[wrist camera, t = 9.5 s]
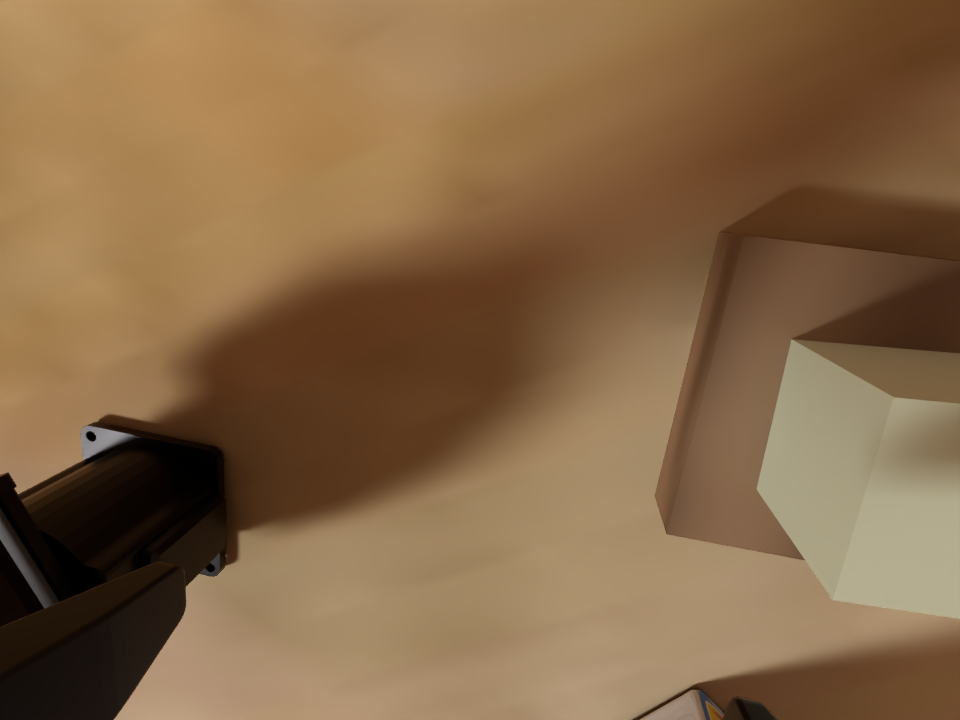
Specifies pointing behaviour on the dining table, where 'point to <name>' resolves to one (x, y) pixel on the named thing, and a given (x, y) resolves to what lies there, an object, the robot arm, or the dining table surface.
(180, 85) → the dining table surface
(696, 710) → the ink cartridge box
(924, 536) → the sage cube
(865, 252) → the walnut board
